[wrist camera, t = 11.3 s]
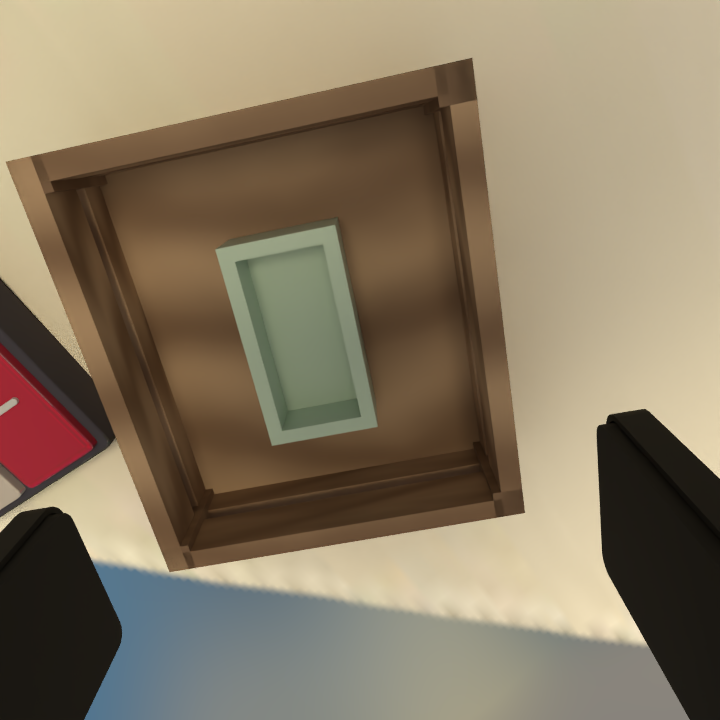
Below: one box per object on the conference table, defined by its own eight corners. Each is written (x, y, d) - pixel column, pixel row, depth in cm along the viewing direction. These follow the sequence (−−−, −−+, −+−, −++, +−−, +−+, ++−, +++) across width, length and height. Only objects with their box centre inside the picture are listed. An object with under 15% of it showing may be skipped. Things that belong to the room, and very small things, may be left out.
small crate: (229, 239, 27) (215, 249, 25) (337, 217, 27) (335, 224, 24) (279, 418, 31) (271, 445, 28) (375, 401, 31) (377, 426, 28)
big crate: (78, 159, 27) (5, 161, 22) (447, 77, 26) (472, 58, 20) (200, 502, 34) (169, 572, 28) (496, 450, 33) (524, 512, 27)
